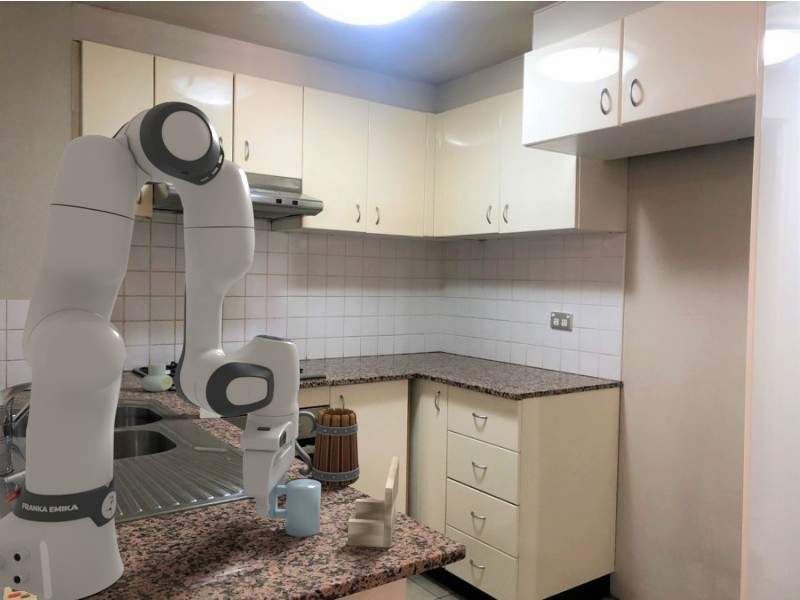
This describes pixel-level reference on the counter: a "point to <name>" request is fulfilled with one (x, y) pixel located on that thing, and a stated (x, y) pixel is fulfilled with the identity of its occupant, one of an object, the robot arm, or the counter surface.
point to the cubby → (376, 515)
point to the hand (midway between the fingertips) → (271, 504)
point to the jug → (298, 506)
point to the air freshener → (156, 378)
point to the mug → (332, 447)
